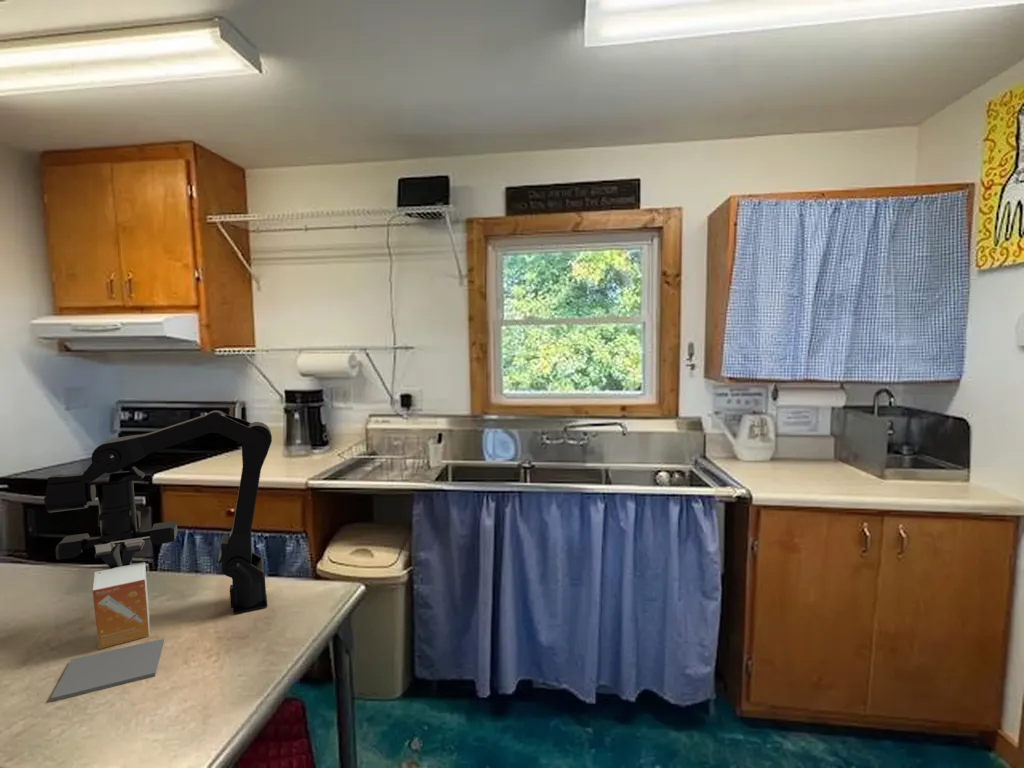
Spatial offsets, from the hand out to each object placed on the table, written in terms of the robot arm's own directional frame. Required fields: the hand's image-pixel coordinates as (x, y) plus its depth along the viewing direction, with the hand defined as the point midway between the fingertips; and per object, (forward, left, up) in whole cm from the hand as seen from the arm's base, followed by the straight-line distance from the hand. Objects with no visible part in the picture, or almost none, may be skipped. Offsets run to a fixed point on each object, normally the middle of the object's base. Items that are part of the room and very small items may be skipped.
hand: (123, 581), depth 107 cm
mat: (0, +14, -10) cm, 18 cm away
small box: (0, +2, -10) cm, 10 cm away
